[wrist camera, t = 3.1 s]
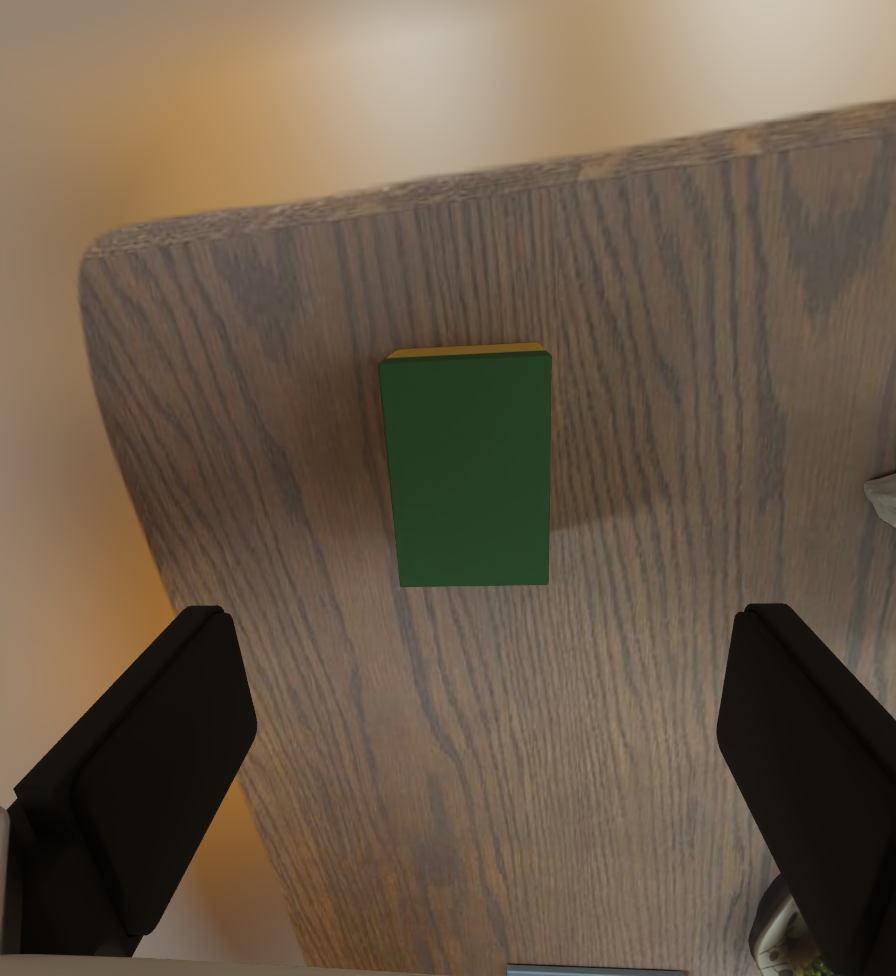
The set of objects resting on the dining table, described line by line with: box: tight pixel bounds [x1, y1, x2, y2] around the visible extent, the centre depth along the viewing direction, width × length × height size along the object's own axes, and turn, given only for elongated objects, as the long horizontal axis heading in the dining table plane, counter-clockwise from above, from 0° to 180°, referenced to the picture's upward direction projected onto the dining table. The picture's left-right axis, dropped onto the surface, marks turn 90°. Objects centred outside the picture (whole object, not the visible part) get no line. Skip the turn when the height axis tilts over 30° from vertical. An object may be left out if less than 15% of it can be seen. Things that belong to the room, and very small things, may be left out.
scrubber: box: [378, 342, 552, 587], centre depth 22 cm, size 9×6×4 cm, turn 3°
